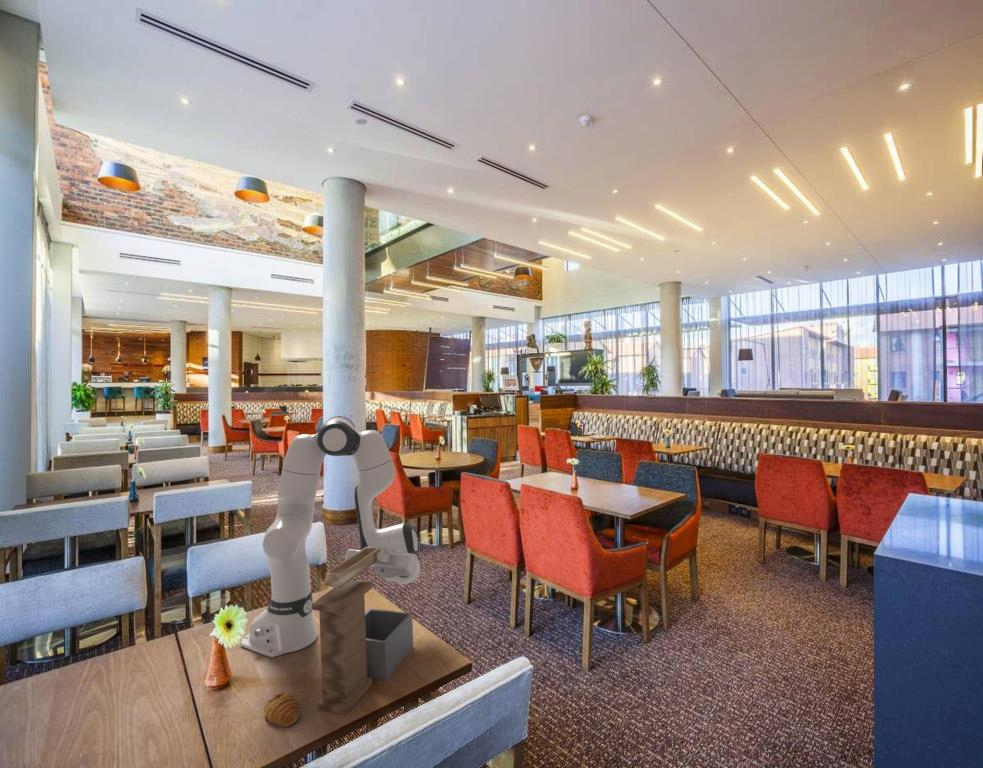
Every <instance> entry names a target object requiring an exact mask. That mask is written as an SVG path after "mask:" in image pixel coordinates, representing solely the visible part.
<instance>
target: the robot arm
mask: <svg viewBox="0 0 983 768" xmlns="http://www.w3.org/2000/svg"><path fill="white" fill-rule="evenodd" d="M327 455H328V456H330V457H331V456H332V457H341V456H343V457H345V456H349V457H350V456H352V457H353V460H354V462H355V465H356V468H357V472H358V476H359V477H358V478H359V481H358V483H357V485H356V486H355V489H354V504H355V512H356V519H357V524H358V525H357V527H358V532H359V533H358V535H359V549H353V548H352V549H351V548H349V549H347V551H346V553H345V558H344V561H345V560H347V559H348V558H350V557H351V556H353V555H354V554H356V553H357V552H359V551H360V550H362V549H364V548H365V547H375V548H380V553H375V556H374V560H378V561H377V562H375V563H374V564H372V565H371V566H370V567H369V568H373V570H374V573H375V574H376V576H377V577H379V578H380V579H384V580H387V581H391V582H394V583H395V584H396V583H397V584H403V585H404V584H405V585H406V584H411V583H412V582H414V581H416V579H417V578H418V577H419V575H420V573H421V564H420V562H419V560H418V555H419V554H418V553H419V549H420V540H419V535H418V532H417V531H416V529H415V528H414V527H413V526H412V525H411V524H410V523H408V522H403V523H399V524H394V525H391V526H386V527H383V528H377V527H376V526H375V523H374V522H375V521H374V515H373V508H372V503H373V500H374V499H375V498H377V497H378V496H379V495H381V493H383V492H385V491H386V490H387V489H388V488H389V487H390V486H391V485H392V484H393V482H394V480H395V478H396V477H395V476H396V468H395V463H394V461H393V458H392V455H391V451H390V450H389V446H388V445H387V442H385V438H384V437H383V436H382V434H381V433H380V431H378V430H375V429H367V430H363V431H359V430H357V429H356V426H355V424H354V422H353V421H352V420H351V419H350V418H348V417H346V416H342V415H335V416H333V417H332V416H331V418H329V419H327V420H326V421H324V422H323V423H322V425H321V426H320V428H319V429H318V430H317V431H316V433H314V434H309V433H303V434H302V433H301V434H298V435H295V437H293V438H292V440H291V441H290V444H289V446H288V448H287V452H286V454H285V457H284V461H283V465H282V470H281V475H280V479H279V484H278V490H277V510H276V516H275V519H274V520H273V523H272V524H270V525H269V527H268V528H267V530H266V531H265V534H264V537H263V540H262V548H263V552H264V553H265V555H266V559H267V562H268V567H269V572H270V583H271V584H270V586H271V587H270V588H271V589H270V590H271V595H270V596H269V597H267V599H265V600H264V605H266V604H268V605H267V608H266V609H264V610H263V611H262V612H261V613H260V614H259V615H257V616H256V617H255V618H254V619H253V620H252V622H251V623H250V626H249V633H248V634H246V635H245V636H244V637H243V638H242V640H241V641H240V646H241V647H242V648H245V649H248V650H250V651H253V652H255V653H258V654H261V655H264V656H266V657H269V658H275V657H278V656H281V655H283V654H287V653H292V652H297V651H299V650H302V649H304V648H306V647H308V646H310V645H311V644H313V643H314V642H315V641H316V640H317V638H318V636H319V634H318V630H317V627H316V622H315V618H314V614H313V613H314V612H313V610H312V603H314V602H313V601H314V600H313V590H312V589H311V569H310V568H311V566H310V563H309V561H308V556H307V551H306V541H307V538H308V536H309V535H310V533H311V531H312V526H313V521H314V513H315V507H316V506H315V504H316V495H317V490H318V488H319V481H320V477H321V472H322V465H323V462H324V459H325V456H327Z"/></svg>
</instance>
